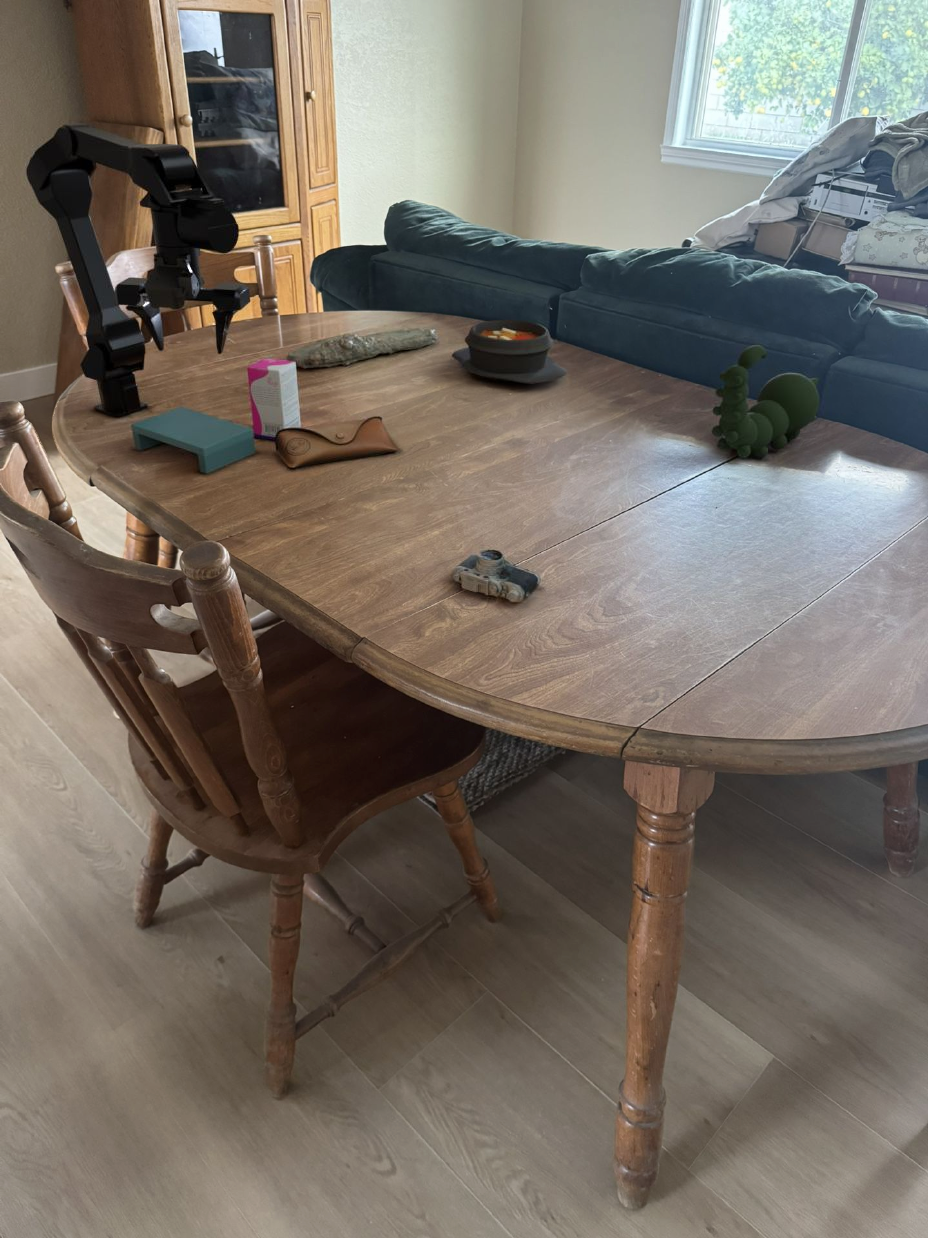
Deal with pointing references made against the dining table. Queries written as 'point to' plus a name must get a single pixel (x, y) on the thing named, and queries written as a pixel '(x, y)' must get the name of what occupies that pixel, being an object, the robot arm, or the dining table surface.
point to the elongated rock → (360, 347)
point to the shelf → (197, 436)
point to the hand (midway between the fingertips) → (190, 351)
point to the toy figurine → (762, 408)
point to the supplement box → (273, 396)
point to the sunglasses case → (333, 442)
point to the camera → (495, 576)
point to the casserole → (509, 352)
